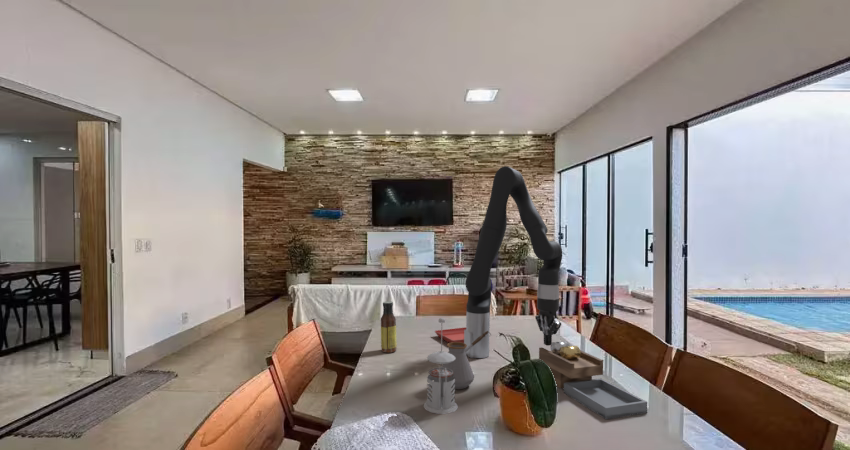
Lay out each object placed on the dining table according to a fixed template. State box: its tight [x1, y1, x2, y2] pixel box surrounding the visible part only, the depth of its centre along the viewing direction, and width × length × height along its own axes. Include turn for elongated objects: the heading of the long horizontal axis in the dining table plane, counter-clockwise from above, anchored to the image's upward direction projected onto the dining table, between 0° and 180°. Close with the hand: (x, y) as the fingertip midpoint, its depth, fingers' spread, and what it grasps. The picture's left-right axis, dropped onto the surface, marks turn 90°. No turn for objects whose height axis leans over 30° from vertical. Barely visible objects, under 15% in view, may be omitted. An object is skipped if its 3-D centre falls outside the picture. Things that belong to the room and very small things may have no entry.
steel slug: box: [550, 340, 571, 354], centre depth 139 cm, size 5×4×4 cm
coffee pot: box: [442, 331, 492, 390], centre depth 135 cm, size 21×12×15 cm, turn 130°
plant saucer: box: [434, 326, 466, 343], centre depth 184 cm, size 18×18×3 cm
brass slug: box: [560, 345, 581, 359], centre depth 134 cm, size 5×4×4 cm
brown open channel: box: [538, 347, 604, 389], centre depth 135 cm, size 12×17×10 cm
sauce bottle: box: [380, 301, 398, 354], centre depth 166 cm, size 7×6×20 cm
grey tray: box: [563, 378, 648, 420], centre depth 120 cm, size 14×18×3 cm
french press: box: [423, 317, 459, 415], centre depth 115 cm, size 10×12×25 cm
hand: (547, 344), depth 146 cm, fingers closed
